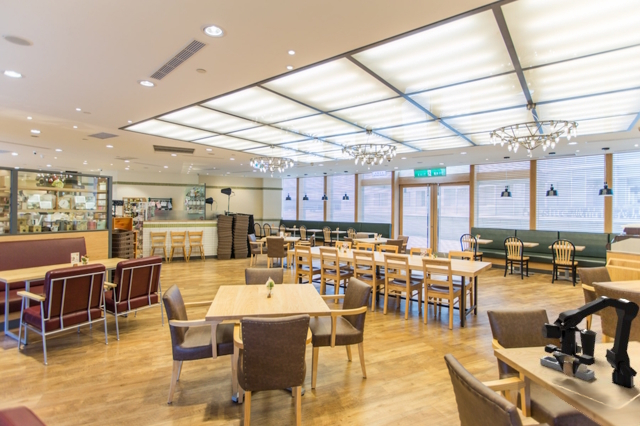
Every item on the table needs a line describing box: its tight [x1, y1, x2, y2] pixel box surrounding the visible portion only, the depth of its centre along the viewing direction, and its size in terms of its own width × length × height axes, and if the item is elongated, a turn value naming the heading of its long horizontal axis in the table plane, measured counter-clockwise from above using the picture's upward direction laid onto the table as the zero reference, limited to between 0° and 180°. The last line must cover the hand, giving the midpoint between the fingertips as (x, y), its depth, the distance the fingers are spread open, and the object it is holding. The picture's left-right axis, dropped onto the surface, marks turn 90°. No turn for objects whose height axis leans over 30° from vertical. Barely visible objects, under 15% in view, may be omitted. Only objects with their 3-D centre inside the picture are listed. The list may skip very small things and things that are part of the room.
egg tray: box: [539, 355, 596, 381], centre depth 164 cm, size 21×7×4 cm, turn 30°
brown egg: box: [562, 361, 574, 378], centre depth 156 cm, size 4×4×6 cm
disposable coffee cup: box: [550, 338, 567, 357], centre depth 185 cm, size 10×10×12 cm
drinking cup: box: [579, 320, 597, 358], centre depth 183 cm, size 8×8×20 cm
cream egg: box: [577, 364, 588, 373], centre depth 159 cm, size 4×4×6 cm
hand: (568, 372), depth 155 cm, fingers closed on brown egg, 4 cm apart
